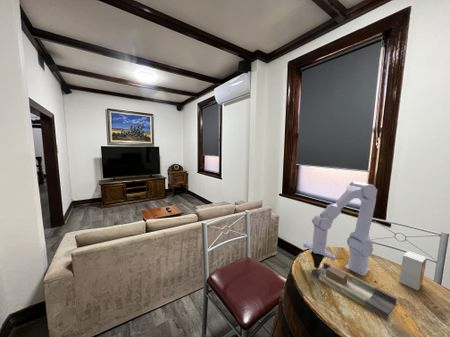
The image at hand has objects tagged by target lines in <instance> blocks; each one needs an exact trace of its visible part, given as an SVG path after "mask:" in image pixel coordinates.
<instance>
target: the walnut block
mask: <svg viewBox="0 0 450 337" xmlns="http://www.w3.org/2000/svg"><path fill="white" fill-rule="evenodd" d="M330 265H331V266H330V267H328V268H327V269H326V277H328V278H330V279H332V280H333V281H335V282H337V283H339V284H341V285H342V286H344V285H345V284H346V283H347V279H348V272H347V273H346V271H345V272H344V270H342V269H341V268H338V267H336V266H334V265H332V264H330Z"/></svg>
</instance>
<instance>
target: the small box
mask: <svg viewBox="0 0 450 337" xmlns="http://www.w3.org/2000/svg"><path fill="white" fill-rule="evenodd" d="M401 261H402V262H401V268H400V274H399V280H398V282H399V283H401V284H402V285H405V286H407V287H409V288H412V289H413V290H416V291H419V290H420V288H422V285H423V281H424V276H425V270H426V265H427V264H426V263H427V257H426V256H423V255H420V254H417V253H415V252H412V251H410V250H408V251H407V252H405V253H404V254H403V256H402V260H401Z"/></svg>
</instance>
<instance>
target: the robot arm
mask: <svg viewBox="0 0 450 337" xmlns="http://www.w3.org/2000/svg"><path fill="white" fill-rule="evenodd" d="M377 194H378V189H377V188H376V186H375V185H374V184H371V183H364V182H361V181H360V182H359V181H357V180H353V181H351V182H349V184H348V185H347V186H346V189H345V191H344V192H343V193H342V195H341V196H340V197H339V198H338V200H336V201H335V203H332V204H331V203H330V204H328V205H327V206H326V208H325V209H324V210H323V211H322V212H320V214H317V215H315V216H314V217H313V219H311V222H312V224H313V236H312V237H313V238H312V244H311V243H308V242H307V241H306V242H305V241H304V243H303V247H302V248H304V249H305V248H307V249H308V250H311V252H310V255H311V258H312V260H313V265H314V266H313V267H314V268H315V269H320V267H321V263H322V262H323V260H324V258H327V259H330V260H331V261H332V262H335V261H336V255H335V254H333V253H331V252H330V251H328V250H327V240H328V239H327V238H328V230H329V229H331V228H332V224H333V223H334V221H335V219H337V218H338V217H339V216H340V215H341V214H342V209H343V208H344V207H346V205H348V204H349V203H350V202H351V201H353V200H354V199H358V200H360V206H359V211H358V215H357V220H356V224H355V229H354V231H352V232H350V233H349V236H348V238H347V240H346V244H347V245H348V246H347V247H348V249H349V255H348V264H346V265H345V266H344V268H345V269H348V270H350V271H353V272H354V273H356V274H358V275H360V276H365V275H366V274H367V273H369V271H370V270H371V269H370V268H368V266H369V265H368V264H369V258H370V256H371V255H372V253H373V252H374V248H373V244H374V242H373V240H372V238H371V237H370V236H369V235H370V230H371V227H372V226H371V225H372V221H373V216H374V211H375V207H376V202H377Z"/></svg>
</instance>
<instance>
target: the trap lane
mask: <svg viewBox="0 0 450 337" xmlns="http://www.w3.org/2000/svg"><path fill="white" fill-rule="evenodd" d="M331 265H332V264H330V263H328V262H327V261H324V262H323V266H322V267H319V268H318V269H317V270H315V269H312V270H311V276H312V277H314V278H315V279H318V280H319V281H321V282H323V283H325V284H326V285H327V286H330V287H332V289H335V291H336V290H337V291H338V292H340V293H341V294H344V295H345V296H347V297H348V298H350V299H352V300H354V301H355V302H357V303H359V304H360V305H362V306H364V307H365V308H366V309H367V308H368V309H369V310H370V311H372V312H374V313H376V314H377V315H379V316H381V317H383V318H384V319H386V320H388V318H389V316H390V315H391V313H392V311H393V309H394V307H395V306H396V304H397V299H398V298H397V296H395V295H393V294H391V293H389V292H387V291H384V290H383V289H382V288H378V287H377V286H375V285H372V284H370V283H368V282H366V281H365V280H363V279H360V278H359V277H357V276H355V275H352V274H351V273H348V272H346V271H344V270H343V271H344V272H346V273H348V279H347V283H346V284H345V285H344V286H342V285H341V284H339V283H337V282H335V281H333V280H332V279H330V278H328V277H326V269H327V268H328V267H330V266H331Z"/></svg>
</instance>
